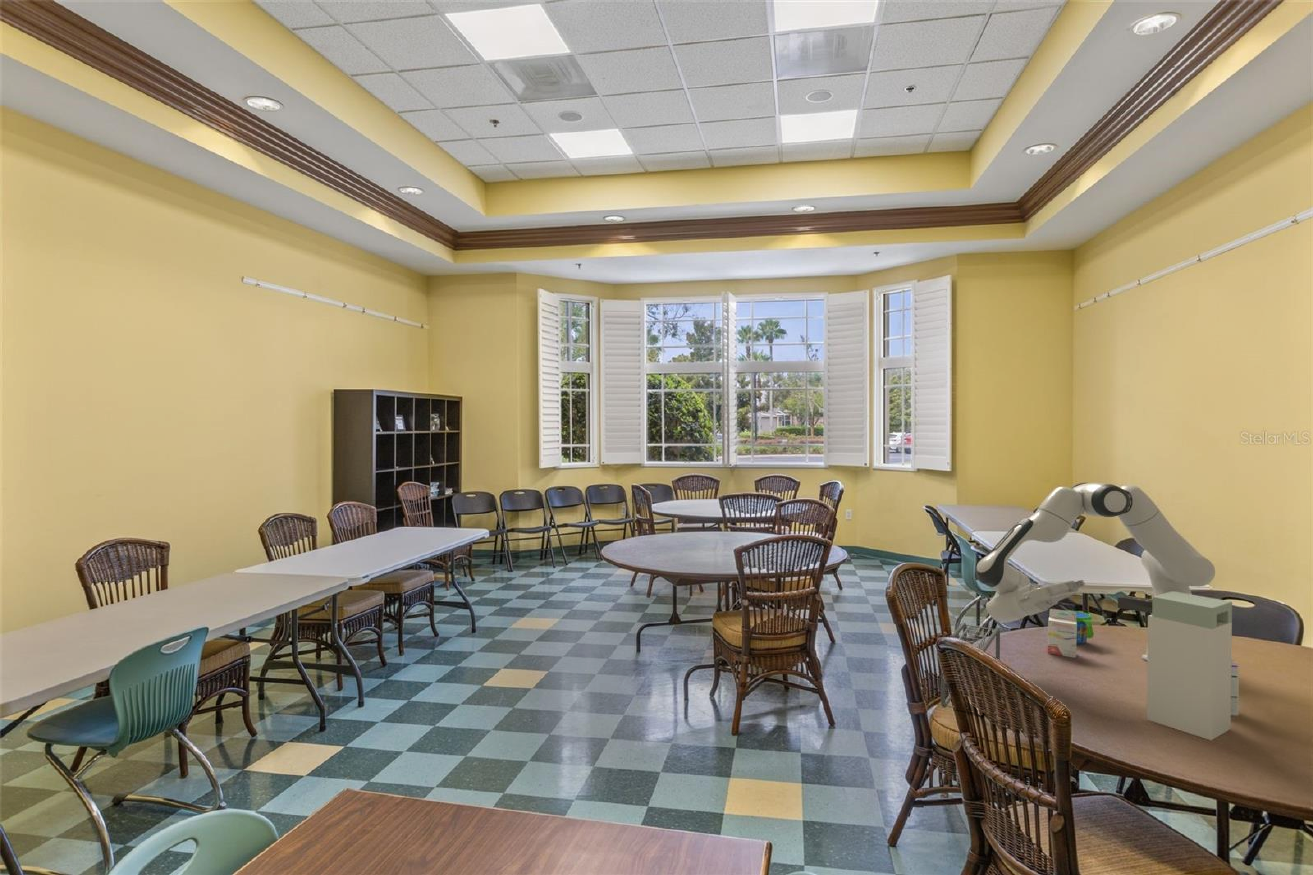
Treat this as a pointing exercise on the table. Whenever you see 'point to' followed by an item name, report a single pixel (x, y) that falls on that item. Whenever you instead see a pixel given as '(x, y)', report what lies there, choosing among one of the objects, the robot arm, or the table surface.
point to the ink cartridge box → (1062, 633)
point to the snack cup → (1082, 626)
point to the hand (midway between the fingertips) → (1074, 584)
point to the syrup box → (1234, 688)
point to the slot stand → (1190, 663)
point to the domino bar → (1135, 603)
